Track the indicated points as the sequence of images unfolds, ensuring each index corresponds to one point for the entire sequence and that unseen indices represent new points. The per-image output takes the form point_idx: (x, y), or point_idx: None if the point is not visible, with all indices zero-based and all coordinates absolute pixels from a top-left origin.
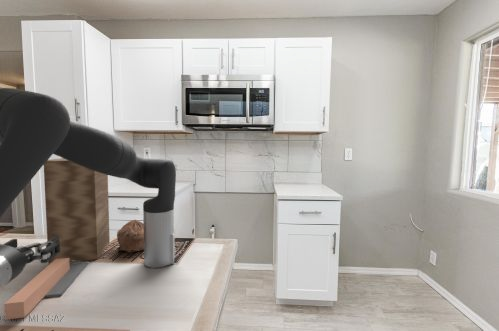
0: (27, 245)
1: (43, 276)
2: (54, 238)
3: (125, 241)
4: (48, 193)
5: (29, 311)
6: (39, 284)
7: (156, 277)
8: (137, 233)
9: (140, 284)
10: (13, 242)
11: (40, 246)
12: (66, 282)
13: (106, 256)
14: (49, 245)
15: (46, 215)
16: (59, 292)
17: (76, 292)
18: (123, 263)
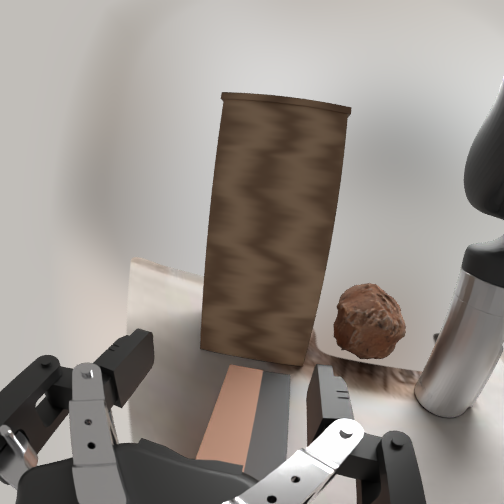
0: (254, 488)
1: (226, 446)
2: (334, 384)
3: (369, 337)
4: (221, 178)
5: None
6: None
7: (469, 448)
8: (398, 323)
9: (454, 473)
10: (140, 351)
11: (326, 481)
12: (274, 452)
13: (317, 361)
14: (389, 482)
15: (208, 238)
16: None
17: (316, 497)
18: (372, 394)
